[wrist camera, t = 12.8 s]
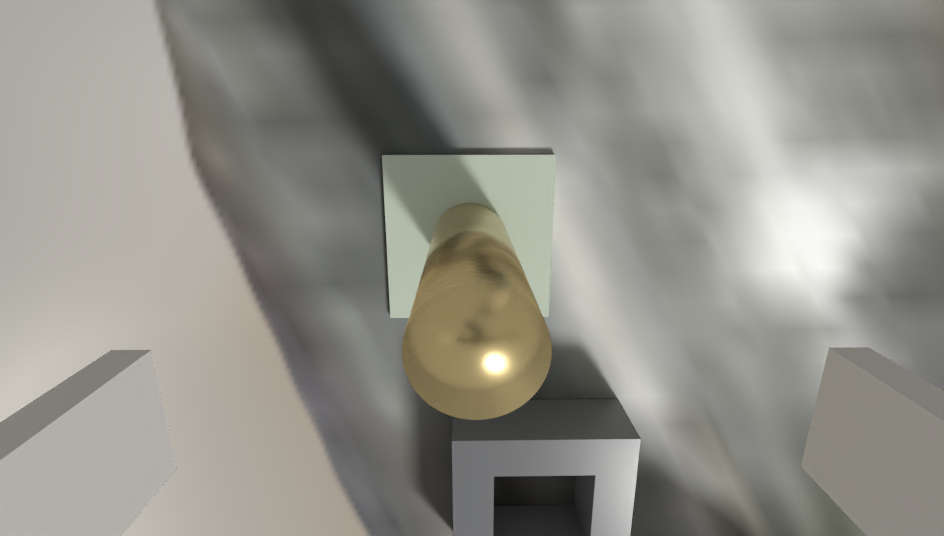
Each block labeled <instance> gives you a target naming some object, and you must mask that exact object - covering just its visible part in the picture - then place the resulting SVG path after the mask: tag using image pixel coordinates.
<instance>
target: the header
mask: <svg viewBox="0 0 944 536" xmlns="http://www.w3.org/2000/svg"><path fill="white" fill-rule="evenodd" d="M640 441H641V439H640V437H639V435H638V433H637V432H636V430H635V428H634V426H633V425H632V423H631V421H630V419H629V417H628V416H627V414H626V412H625V410H624V409H623V407H622V405H621V403H620V402H619V400H618V399H535V400H529V401H527V402H526V403H525V404H524V405H522V406H521V407H519V408H517V409H516V410H514V411H512V412H510V413H508V414H505V415H502V416H499V417H496V418H491V419H484V420H468V419H461V418H457V417H453V423H452V486H453V536H630V533H631V524H632V515H633V506H634V497H635V487H636V478H637V469H638V460H639V450H640ZM503 476H576V480H575V494H574V505H502V506H494V477H503Z"/></svg>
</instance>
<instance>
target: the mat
mask: <svg viewBox="0 0 944 536" xmlns="http://www.w3.org/2000/svg"><path fill="white" fill-rule="evenodd" d="M555 161H556V155H382V165H383V185H384V204H385V223H386V243H387V262H388V282H389V301H390V318H409V317H410V313H411V310H412V306H413V303H414V299H415V296H416V293H417V289H418V286H419V282H420V279H421V275H422V272H423V268H424V265H425V261H426V258H427V255H428V251H429V248H430V244H431V241H432V237H433V234H434V230H435V227H436V225H437V223H438V221H439V219H440V218H441V216H442V215H443V214H444V213H445V212H446V211H448V210H449V209H451V208H452V207H454V206H456V205H459V204H463V203H477V204H481V205H484V206H486V207H489V208H490V209H492V210H493V211H494V212H495V213H497V215H498V216H499V217H500V218H501V220H502V221H503V223H504V225H505V228H506V230H507V233H508V235H509V237H510V240H511V242H512V244H513V247H514V249H515V251H516V254H517V256H518V259H519V261H520V263H521V266H522V268H523V270H524V273H525V275H526V278H527V280H528V282H529V285H530V287H531V289H532V292H533V294H534V296H535V299H536V301H537V304H538V306H539V308H540V311H541V313H542V315H543V317H549V296H550V273H551V251H552V228H553V206H554V183H555Z"/></svg>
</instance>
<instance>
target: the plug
mask: <svg viewBox="0 0 944 536" xmlns="http://www.w3.org/2000/svg"><path fill="white" fill-rule="evenodd" d="M551 357H552V343H551V338H550V334H549V330H548V327H547V325H546V323H545V320H544V318H543V315H542V313H541V311H540V308H539V306H538V304H537V301H536V299H535V296H534V294H533V292H532V289H531V287H530V285H529V282H528V280H527V278H526V275H525V273H524V270H523V268H522V266H521V263H520V261H519V259H518V256H517V254H516V251H515V249H514V247H513V244H512V242H511V240H510V237H509V235H508V233H507V230H506V228H505V225H504V223H503V221H502V220H501V218H500V217H499V216H498V215H497V213H495V212H494V211H493V210H492V209H490V208H489V207H486V206H484V205H481V204H477V203H463V204H459V205H456V206H454V207H452V208H451V209H449V210H448V211H446V212H445V213H444V214H443V215H442V216H441V218H440V219H439V221H438V223H437V225H436V227H435V230H434V234H433V237H432V241H431V244H430V248H429V251H428V255H427V258H426V261H425V265H424V268H423V272H422V275H421V279H420V282H419V286H418V289H417V293H416V296H415V299H414V303H413V306H412V310H411V313H410V317H409V320H408V324H407V327H406V331H405V334H404V338H403V344H402V360H403V366H404V370H405V373H406V375H407V378H408V380H409V382H410V384H411V385H412V387H413V389H414V390H415V391H416V392H417V394H418V395H419V396H420V397H421V398H422V399H423V400H424V401H425V402H426V403H428V404H429V405H430V406H432V407H433V408H435V409H437V410H438V411H440V412H442V413H445V414H447V415H450V416H453V417H457V418H461V419H468V420H484V419H491V418H496V417H499V416H502V415H505V414H508V413H510V412H512V411H514V410H516V409H517V408H519V407H521V406H522V405H524V404H525V403H526V402H527V401H529V400H530V399H531V398H532V397H533V396H534V395H535V394H536V392H537V391H538V390H539V388H540V387H541V385H542V384H543V382H544V380H545V378H546V376H547V374H548V371H549V368H550V364H551Z"/></svg>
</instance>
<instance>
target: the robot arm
mask: <svg viewBox="0 0 944 536" xmlns="http://www.w3.org/2000/svg"><path fill="white" fill-rule="evenodd" d="M801 467H802V468H803V469H804V470H805V471H806V472H807V473H808V474H809V475H810V476H811V477H812V478H813V480H814V481H815V482H816V483H817V484H818V485H819V486H820V487H821V488H822V489H823V490H824V491H825V492H826V493H827V494H828V495H829V496H830V497H831V499H832V500H833V501H834V502H835V503H836V504H837V505H838V506H839V507H840V508H841V509H842V510H843V511H844V512H845V513H846V514H847V515H848V516H849V518H850V519H851V520H852V521H853V522H854V523H855V524H856V525H857V526H858V527H859V528H860V529H861V530H862V531H863V532H864V533H865V534H866V535H867V536H944V391H943V390H941V389H939V388H938V387H936V386H934V385H932V384H931V383H929V382H927V381H925V380H924V379H922V378H920V377H919V376H917V375H915V374H913V373H912V372H910V371H908V370H906V369H905V368H903V367H901V366H900V365H898V364H896V363H894V362H893V361H891V360H889V359H887V358H886V357H884V356H882V355H881V354H879V353H877V352H875V351H874V350H872V349H870V348H829V350H828V355H827V359H826V363H825V367H824V371H823V376H822V380H821V384H820V388H819V392H818V396H817V401H816V405H815V409H814V413H813V417H812V422H811V426H810V430H809V434H808V438H807V443H806V447H805V451H804V455H803V459H802V464H801ZM176 469H177V467H176V462H175V457H174V453H173V448H172V444H171V440H170V434H169V430H168V425H167V421H166V416H165V412H164V407H163V402H162V398H161V393H160V389H159V385H158V380H157V375H156V370H155V366H154V361H153V357H152V352H151V350H111V351H110V352H108V353H106V354H105V355H103V356H102V357H100V358H99V359H97V360H96V361H94V362H92V363H91V364H89V365H88V366H86V367H85V368H83V369H82V370H80V371H79V372H77V373H76V374H74V375H72V376H71V377H69V378H68V379H66V380H65V381H63V382H62V383H60V384H59V385H57V386H56V387H54V388H53V389H51V390H49V391H48V392H46V393H45V394H43V395H42V396H40V397H39V398H37V399H36V400H34V401H33V402H31V403H29V404H28V405H26V406H25V407H23V408H22V409H20V410H19V411H17V412H16V413H14V414H13V415H11V416H9V417H8V418H7V419H5V420H3V421H2V422H0V536H122V535H123V533H124V532H125V531H126V530H127V528H128V527H129V526H130V525H131V524H132V523H133V521H134V520H135V519H136V517H137V516H138V515H139V514H140V513H141V512H142V510H143V509H144V508H145V507H146V506H147V504H148V503H149V502H150V501H151V500H152V498H153V497H154V496H155V495H156V493H157V492H158V491H159V490H160V489H161V488H162V486H163V485H164V484H165V483H166V482H167V480H168V479H169V478H170V477H171V476H172V474H173V473H174V472H175V471H176Z"/></svg>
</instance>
